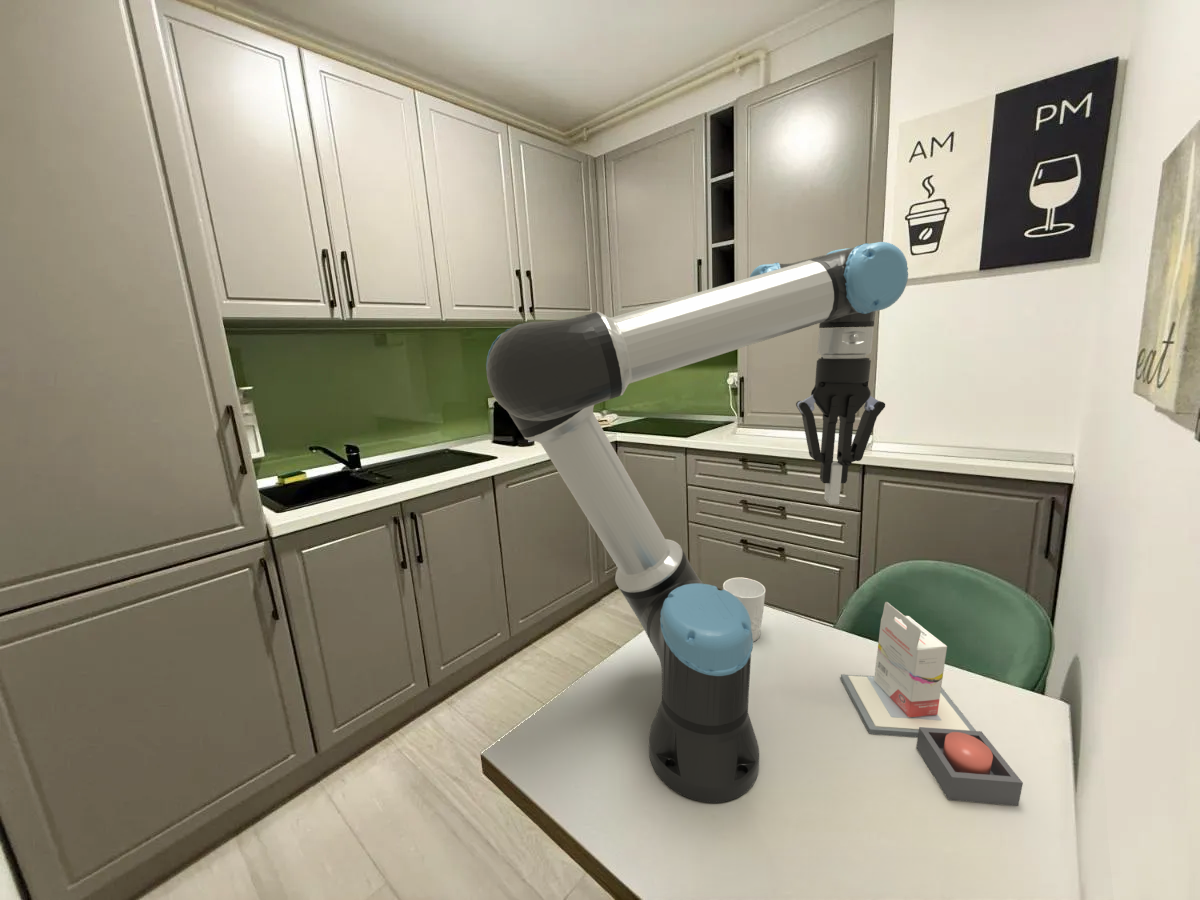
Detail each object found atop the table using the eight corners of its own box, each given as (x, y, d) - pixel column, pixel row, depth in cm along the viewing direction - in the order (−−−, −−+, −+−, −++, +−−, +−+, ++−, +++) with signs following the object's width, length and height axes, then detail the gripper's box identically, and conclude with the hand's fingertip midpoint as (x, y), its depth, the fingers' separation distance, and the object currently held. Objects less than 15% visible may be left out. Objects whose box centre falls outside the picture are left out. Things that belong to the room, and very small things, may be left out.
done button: (956, 777, 62) (958, 761, 61) (935, 746, 67) (937, 730, 66) (999, 781, 61) (1002, 765, 61) (974, 749, 66) (977, 733, 66)
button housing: (948, 799, 61) (951, 777, 60) (916, 747, 69) (919, 727, 68) (1018, 806, 60) (1023, 782, 59) (977, 752, 68) (981, 731, 67)
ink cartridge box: (939, 715, 73) (953, 628, 70) (908, 718, 73) (920, 631, 69) (900, 677, 81) (910, 597, 78) (872, 679, 81) (881, 599, 78)
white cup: (758, 622, 100) (760, 577, 98) (767, 645, 92) (769, 598, 90) (719, 621, 101) (720, 576, 99) (724, 644, 93) (726, 597, 91)
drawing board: (869, 733, 72) (869, 727, 71) (840, 678, 83) (840, 672, 83) (980, 741, 70) (981, 735, 69) (935, 683, 81) (935, 678, 81)
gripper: (806, 358, 72) (796, 508, 78) (900, 356, 71) (883, 510, 76) (793, 356, 80) (784, 493, 85) (878, 354, 78) (864, 494, 83)
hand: (831, 501), depth 81 cm, fingers closed
